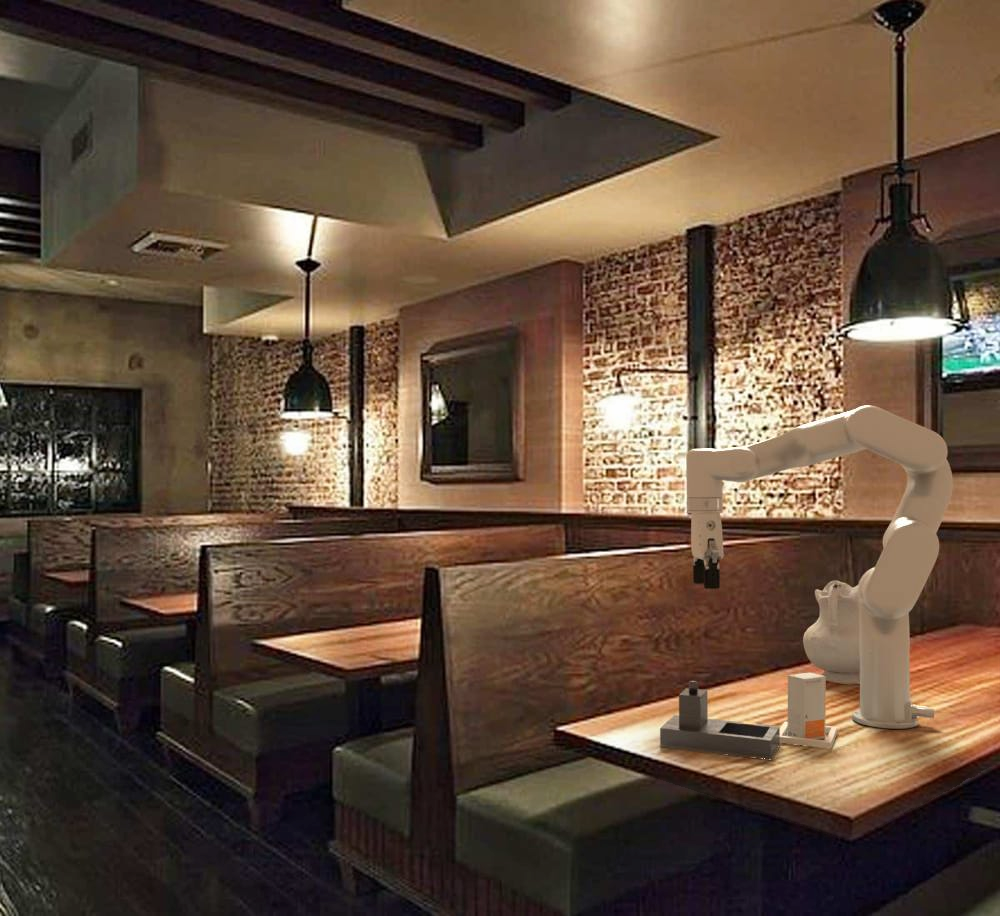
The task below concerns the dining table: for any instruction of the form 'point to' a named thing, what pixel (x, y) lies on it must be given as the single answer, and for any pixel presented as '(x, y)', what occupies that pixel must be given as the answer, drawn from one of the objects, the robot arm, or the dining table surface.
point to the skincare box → (806, 705)
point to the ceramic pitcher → (836, 634)
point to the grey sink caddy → (715, 730)
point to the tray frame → (809, 742)
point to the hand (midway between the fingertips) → (706, 585)
